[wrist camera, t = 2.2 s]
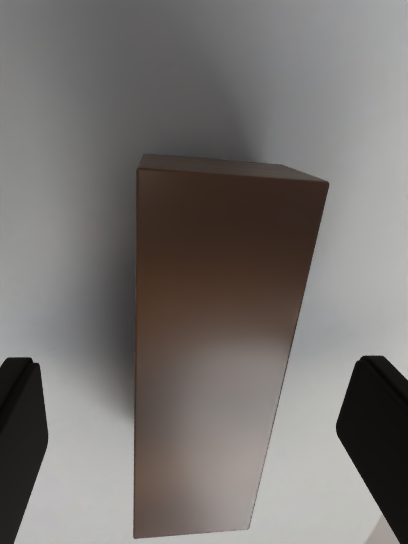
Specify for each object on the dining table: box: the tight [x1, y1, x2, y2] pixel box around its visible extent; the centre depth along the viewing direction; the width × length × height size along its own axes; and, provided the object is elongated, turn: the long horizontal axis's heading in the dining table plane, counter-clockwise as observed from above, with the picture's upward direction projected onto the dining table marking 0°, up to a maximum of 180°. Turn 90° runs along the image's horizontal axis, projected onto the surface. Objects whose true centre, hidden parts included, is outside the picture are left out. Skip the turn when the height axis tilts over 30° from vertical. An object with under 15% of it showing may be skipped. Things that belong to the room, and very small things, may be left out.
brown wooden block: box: [133, 154, 329, 539], centre depth 11 cm, size 12×4×4 cm, turn 175°
